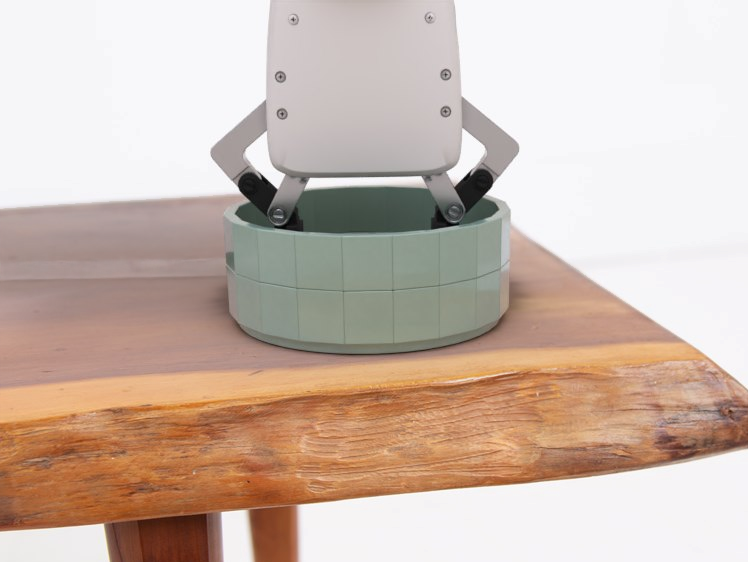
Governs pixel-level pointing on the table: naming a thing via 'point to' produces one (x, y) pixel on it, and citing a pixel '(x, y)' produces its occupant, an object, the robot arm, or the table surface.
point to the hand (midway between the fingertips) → (368, 289)
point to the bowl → (368, 271)
